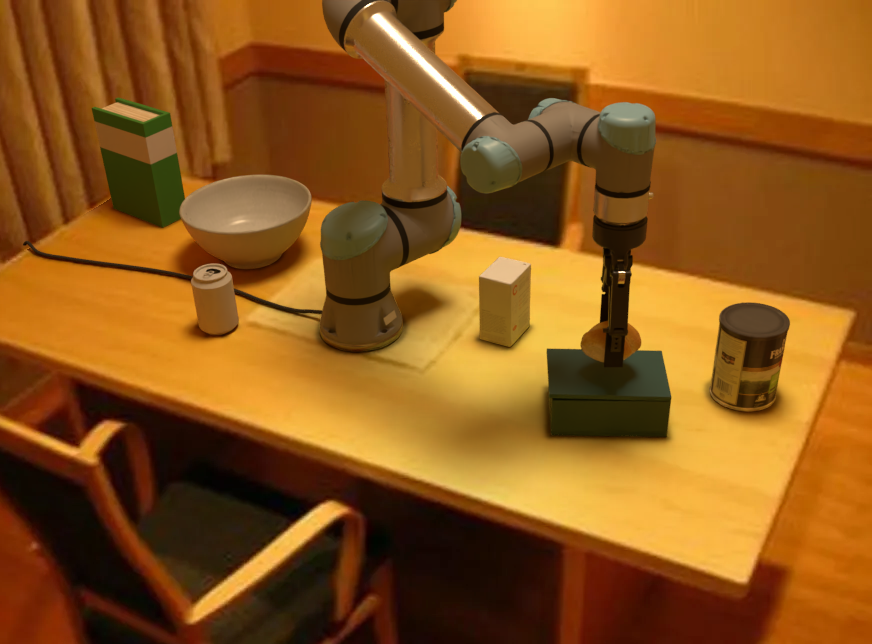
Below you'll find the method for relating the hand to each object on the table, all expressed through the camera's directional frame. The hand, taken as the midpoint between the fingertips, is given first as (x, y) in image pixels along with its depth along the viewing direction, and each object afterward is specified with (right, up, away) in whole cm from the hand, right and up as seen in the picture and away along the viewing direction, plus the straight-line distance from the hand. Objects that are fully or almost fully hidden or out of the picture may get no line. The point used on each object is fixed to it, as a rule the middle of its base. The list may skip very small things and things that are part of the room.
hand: (610, 347), depth 165 cm
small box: (-12, +4, +28) cm, 31 cm away
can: (-65, +5, +37) cm, 75 cm away
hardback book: (-86, +34, +80) cm, 122 cm away
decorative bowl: (-61, +21, +59) cm, 88 cm away
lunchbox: (+1, -10, +7) cm, 12 cm away
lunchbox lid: (0, -4, +3) cm, 5 cm away
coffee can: (+23, -7, +9) cm, 26 cm away
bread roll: (0, 0, 0) cm, 0 cm away
